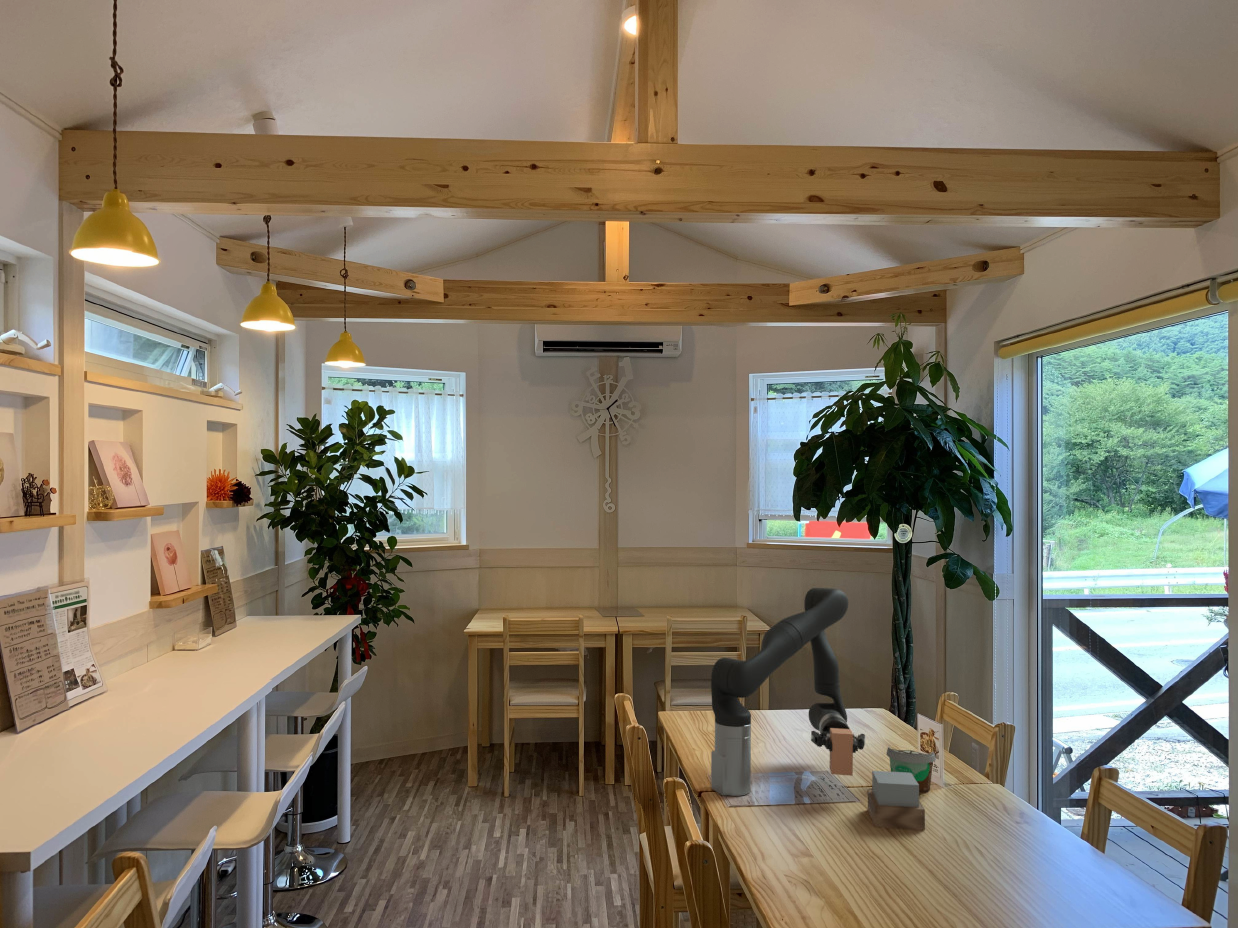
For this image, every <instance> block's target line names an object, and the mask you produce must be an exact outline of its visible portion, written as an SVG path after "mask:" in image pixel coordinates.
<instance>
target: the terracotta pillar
mask: <svg viewBox="0 0 1238 928" xmlns="http://www.w3.org/2000/svg"><path fill="white" fill-rule="evenodd" d="M853 734H854V733H853V731H852V729H851V728H850V729H838V728H830V739H831V741H832V743H833V749H832V751H829V768H828V769H829V770H830V774H831V775H837V776H850V777H851V776H853V773H854V764H853V763H854V753H853Z"/></svg>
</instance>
